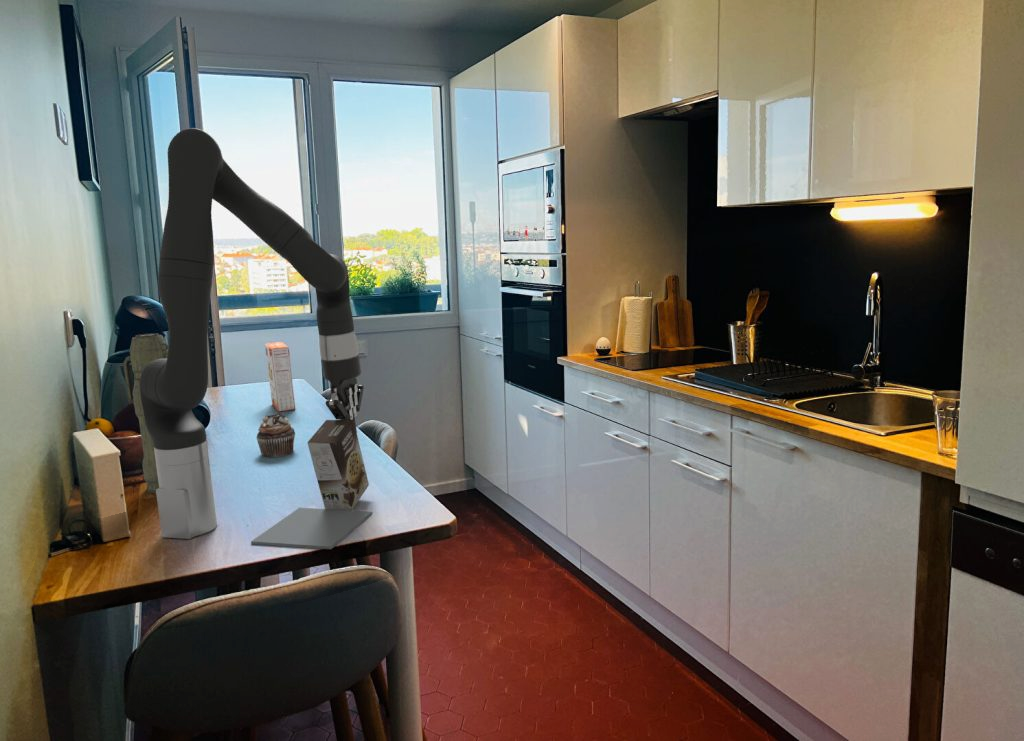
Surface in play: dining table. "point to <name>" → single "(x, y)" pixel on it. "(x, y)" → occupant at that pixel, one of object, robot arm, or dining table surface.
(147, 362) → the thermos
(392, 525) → the dining table surface
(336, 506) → the coffee box
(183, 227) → the robot arm
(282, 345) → the cracker box
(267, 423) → the cupcake
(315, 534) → the mat
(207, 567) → the dining table surface
